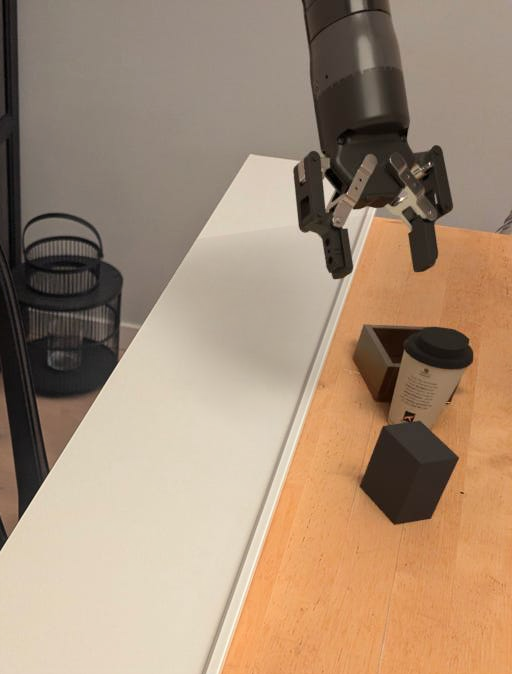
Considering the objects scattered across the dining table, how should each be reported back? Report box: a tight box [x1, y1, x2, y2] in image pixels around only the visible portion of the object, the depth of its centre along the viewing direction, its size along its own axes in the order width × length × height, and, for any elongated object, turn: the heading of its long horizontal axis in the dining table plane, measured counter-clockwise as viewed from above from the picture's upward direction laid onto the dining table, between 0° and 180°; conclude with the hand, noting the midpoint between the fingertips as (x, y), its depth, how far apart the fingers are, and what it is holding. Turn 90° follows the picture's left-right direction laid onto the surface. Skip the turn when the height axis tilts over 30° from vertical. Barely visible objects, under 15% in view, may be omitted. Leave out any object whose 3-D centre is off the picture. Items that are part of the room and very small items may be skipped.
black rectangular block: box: [359, 421, 460, 526], centre depth 84 cm, size 4×6×8 cm, turn 17°
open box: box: [352, 323, 462, 403], centre depth 104 cm, size 9×10×4 cm
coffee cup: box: [386, 326, 474, 431], centre depth 95 cm, size 7×7×10 cm
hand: (384, 272), depth 81 cm, fingers open, 8 cm apart
